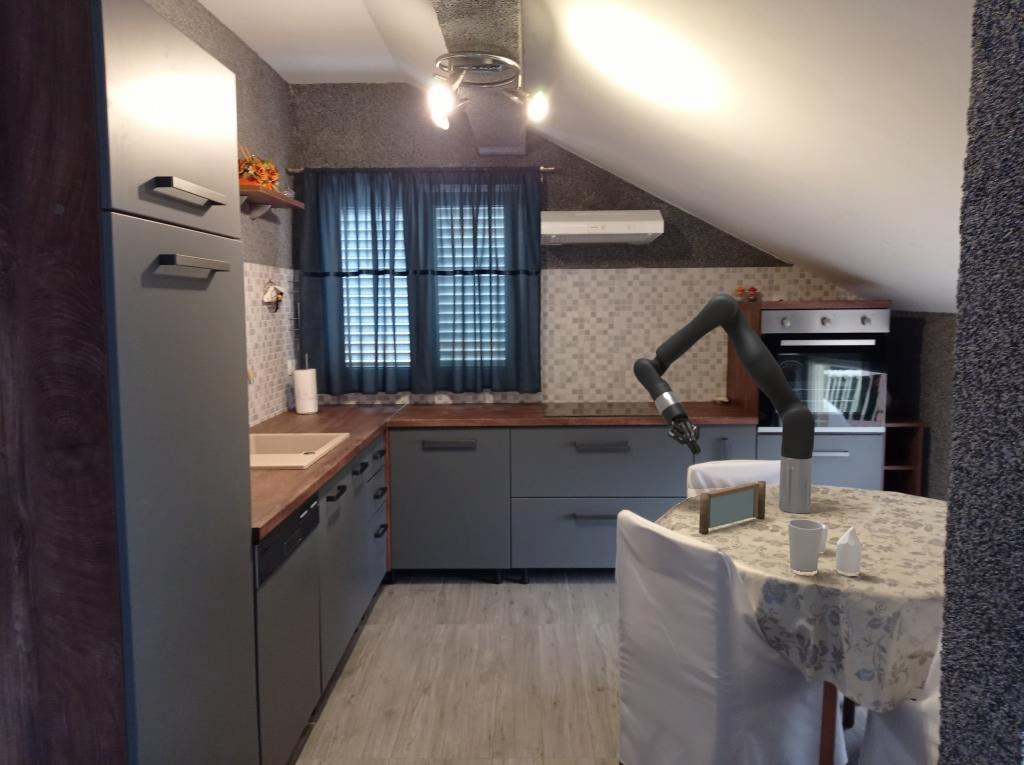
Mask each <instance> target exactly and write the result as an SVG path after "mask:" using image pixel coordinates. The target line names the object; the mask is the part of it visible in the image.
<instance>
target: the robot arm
mask: <svg viewBox="0 0 1024 765" xmlns="http://www.w3.org/2000/svg"><path fill="white" fill-rule="evenodd" d="M719 327H721V328H722V329H723V331H724V332H725V333H726V334H727V337H729V340H730V341H731V343H732V345H733V348H734V352H735V353H736V356H737V357H738V360H739V362H740V363H741V365H742V366H743V368H744V370H745V372H746V373H747V374H748V376H749V378H750V379H751V380H752V381H753V383H754V384H755V385H756V387H758V388H759V390H760V391H762V392H763V394H765V396H766V397H767V398H768V399H769V401H770V402H771V404H772V405H773V407H774V410H775V411H776V412H777V414H778V416H779V418H780V420H781V424H782V428H781V429H782V431H781V446H780V464H779V465H780V466H779V489H778V490H779V492H778V493H779V495H778V496H779V497H778V499H779V500H778V508H779V510H781V511H784V512H787V513H791V514H811V495H812V472H813V471H812V470H813V468H812V467H813V452H814V445H815V430H816V429H815V428H816V420H815V417H814V414H813V413H812V411H811V410H810V409H809V408H808V407H807V406H806V405H805V403H804V402H803V401H802V400H801V399H800V398H799V397H798V395H797V394H796V393H795V392H794V391H793V389H792V387H791V386H790V384H789V382H788V381H787V380H788V379H787V378H786V376H785V374H784V372H783V370H782V368H781V366H780V364H778V361H777V360H776V359H775V357H774V356H773V354H772V353H771V351H770V350H769V349H768V347H767V346H766V345H765V343H764V342H763V341H762V339H761V337H760V336H759V335H758V334H757V333H756V331H755V330H754V329H753V328H752V327H751V325H750V324H749V322H748V320H747V319H746V317H745V314H744V313H743V311H742V309H741V307H740V305H739V303H738V302H737V299H735V297H734V296H732V295H731V294H728V293H723V292H722V293H718V294H715V295H714V296H713V297H711V298H710V299H709V300H708V301H707V304H706V305H705V306H704V307H703V308H702V309H701V310H700V312H699V313H698V314H697V315H696V316H695V317H694V318H693V319H692V320H691V321H689V322H688V323H687V324H686V325H685V326H683V327H682V328H681V329H679V330H678V331H677V332H674V334H673V335H671V336H670V337H669V338H668V339H667V340H665V341H664V342H663V343H662V344H660V345H659V346H658V347H657V348H656V350H655V356H654V358H652V359H649V358H646V357H640V358H638V359H637V360H635V362H634V364H633V368H632V370H633V374H634V376H635V378H636V379H637V381H638V382H639V383H640V384H641V386H643V388H644V389H645V390H646V391H647V392H648V394H649V396H650V398H651V399H652V401H653V403H654V405H655V407H656V410H657V411H658V413H659V414H660V416H661V418H662V419H663V421H664V423H665V424H666V425H667V426H668V427H669V431H668V432H667V436H669V437H670V438H671V439H673V440H674V441H676V442H677V443H678V444H680V445H682V446H683V445H685V446H687V448H688V449H689V450H690V452H691V453H692V454H693V456H695V455H696V456H697V455H699V454H700V453H701V450H702V449H701V447H700V446H699V444H698V442H697V441H698V440H699V439H700V437H701V435H700V433H701V426H700V425H699V424H697V425H695V424H693V422H692V421H691V420H690V419H689V414H688V411H687V410H686V409H685V406H684V405H683V404H682V402H681V401H680V399H679V398H678V396H677V395H676V394H675V392H674V390H673V389H672V388H671V386H670V384H669V383H668V382H667V381H666V380H665V379H664V378H662V377H663V375H665V373H666V372H667V371H668V370H669V368H671V365H672V364H673V363H675V362H676V361H677V360H679V358H681V357H682V356H683V355H685V353H687V352H688V351H689V350H690V349H691V348H692V347H693V346H694V345H696V343H698V341H699V340H701V339H702V338H703V337H705V336H706V335H707V334H708V333H710V332H712V331H713V330H715V329H717V328H719Z"/></svg>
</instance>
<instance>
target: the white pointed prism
mask: <svg viewBox="0 0 1024 765" xmlns="http://www.w3.org/2000/svg"><path fill="white" fill-rule="evenodd" d="M862 549H863V546H862V542H861V541H860V538H859V537H858V534H857V532H856V528H855V526H854V525H852V526H851V527H850V528H848V529H847V530H846V531H845V533H844V534H843V536H841V537H840V538H839V539H838V540H837V543H836V555H835V567H834V568H836V569H837V570H839V571H842V572H846V573H856V572H859V571H860V572H861V565H862V562H861V561H862V552H863V551H862ZM860 572H859V573H860Z"/></svg>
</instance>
